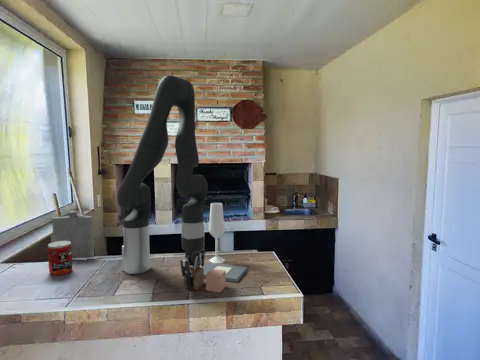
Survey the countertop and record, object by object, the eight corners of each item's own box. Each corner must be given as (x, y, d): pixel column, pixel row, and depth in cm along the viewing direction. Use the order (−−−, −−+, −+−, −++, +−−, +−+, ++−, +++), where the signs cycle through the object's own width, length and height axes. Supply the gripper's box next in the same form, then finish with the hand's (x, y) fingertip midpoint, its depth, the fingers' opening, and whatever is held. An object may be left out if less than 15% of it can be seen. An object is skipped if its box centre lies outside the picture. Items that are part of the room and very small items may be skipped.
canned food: (51, 277, 114) (50, 247, 113) (47, 271, 120) (45, 243, 119) (75, 272, 119) (73, 243, 118) (69, 266, 125) (68, 239, 124)
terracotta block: (206, 290, 103) (205, 274, 103) (212, 284, 108) (212, 268, 108) (220, 292, 102) (220, 276, 101) (225, 286, 107) (225, 270, 106)
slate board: (195, 276, 115) (195, 272, 115) (208, 265, 126) (208, 261, 126) (236, 282, 110) (236, 278, 109) (247, 270, 121) (247, 266, 121)
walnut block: (183, 287, 106) (183, 271, 105) (190, 281, 110) (190, 266, 110) (197, 289, 104) (197, 273, 103) (203, 283, 109) (203, 268, 108)
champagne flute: (213, 257, 136) (213, 201, 134) (227, 259, 133) (227, 202, 131) (205, 262, 130) (205, 204, 127) (220, 264, 127) (220, 205, 125)
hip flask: (52, 259, 133) (50, 212, 131) (57, 256, 137) (54, 210, 135) (92, 257, 135) (90, 211, 134) (95, 254, 139) (93, 209, 138)
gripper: (192, 228, 113) (193, 274, 115) (172, 239, 100) (173, 291, 101) (212, 230, 111) (212, 277, 113) (193, 241, 98) (194, 294, 99)
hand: (193, 283), depth 107 cm, fingers closed on walnut block, 5 cm apart
